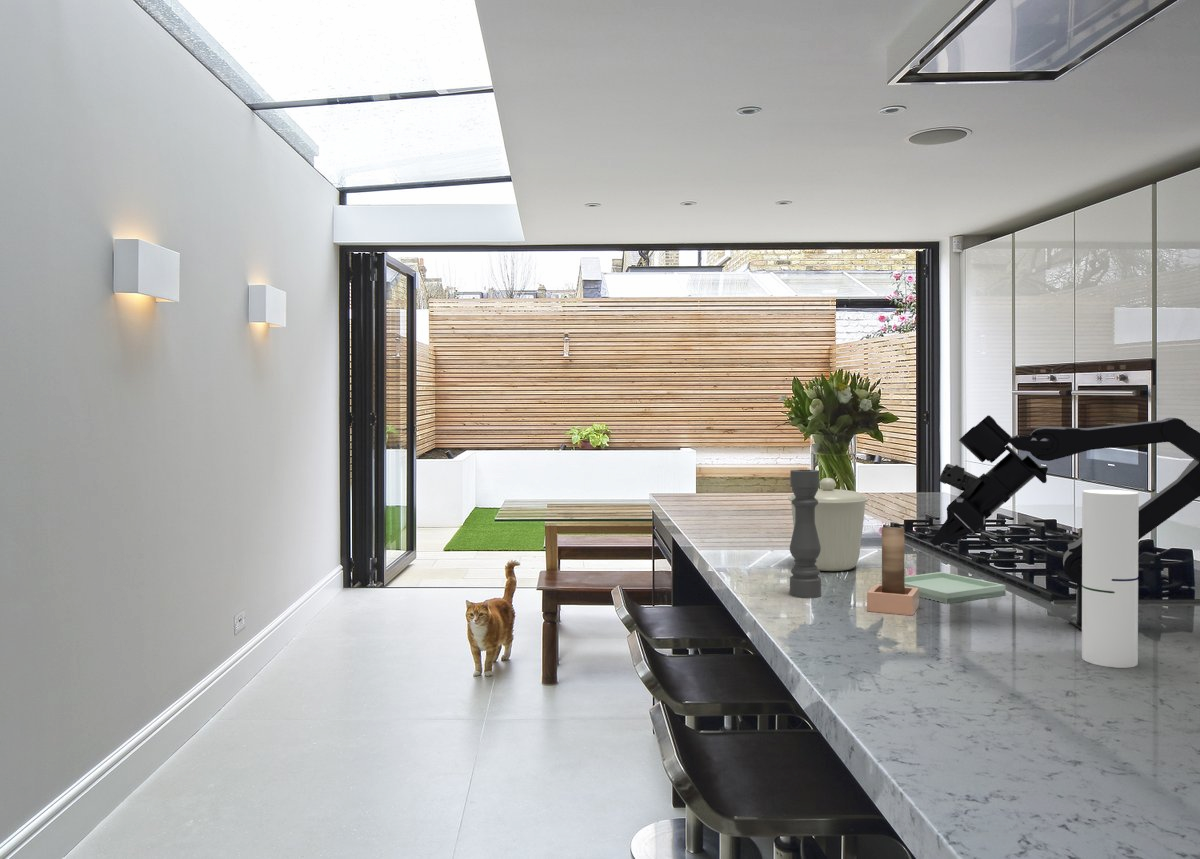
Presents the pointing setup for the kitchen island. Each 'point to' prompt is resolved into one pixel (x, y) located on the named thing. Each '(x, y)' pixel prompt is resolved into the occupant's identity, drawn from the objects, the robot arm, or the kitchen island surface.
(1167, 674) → the kitchen island surface
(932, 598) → the tray
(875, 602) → the pink open box
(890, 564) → the dowel pin
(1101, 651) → the cylindrical container
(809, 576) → the candle holder
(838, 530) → the canister
